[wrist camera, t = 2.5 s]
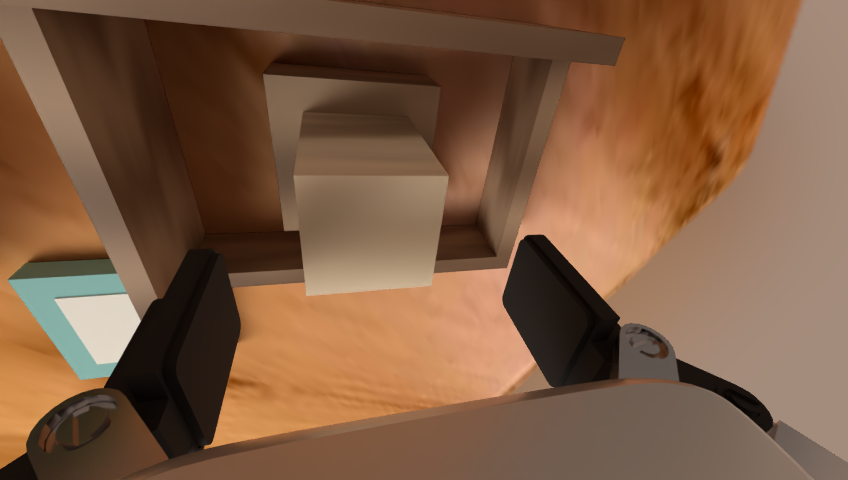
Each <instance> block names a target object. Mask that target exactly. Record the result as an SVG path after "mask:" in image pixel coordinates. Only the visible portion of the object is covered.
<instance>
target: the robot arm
mask: <svg viewBox="0 0 848 480" xmlns="http://www.w3.org/2000/svg"><path fill="white" fill-rule="evenodd" d="M502 300H503V305H504V307H505V309H506V311H507V312H508V314H509V316H510V318H511V319H512V321H513V323H514V325H515V326H516V328H517V330H518V331H519V333H520V335H521V337H522V338H523V340H524V342H525V344H526V345H527V347H528V349H529V350H530V352H531V354H532V356H533V357H534V359H535V361H536V363H537V364H538V366H539V368H540V369H541V371H542V373H543V374H544V376H545V378H546V380H547V381H548V383H549V385H551V386H552V387H555V388H549V389H543V390H537V391H531V392H524V393H518V394H512V395H506V396H500V397H493V398H487V399H481V400H475V401H469V402H463V403H457V404H451V405H445V406H439V407H433V408H427V409H422V410H416V411H410V412H404V413H398V414H392V415H386V416H380V417H374V418H369V419H363V420H357V421H351V422H345V423H340V424H334V425H328V426H322V427H317V428H311V429H305V430H299V431H294V432H289V433H283V434H278V435H273V436H267V437H262V438H257V439H251V440H246V441H241V442H236V443H230V444H226V445H222V446H217V447H213V448H209V449H204V446H205V445H210V444H211V443H212V441H213V438H214V435H215V431H216V427H217V423H218V419H219V414H220V410H221V406H222V402H223V398H224V394H225V390H226V386H227V382H228V378H229V374H230V370H231V366H232V362H233V358H234V354H235V350H236V346H237V342H238V338H239V334H240V328H241V323H240V317H239V313H238V310H237V306H236V302H235V298H234V294H233V290H232V287H231V283H230V279H229V275H228V271H227V267H226V264H225V260H224V256H223V254H222V253H216V251H215V250H214V249H213V248H207V249H190V250H188V252H187V253H186V255H185V257H184V259H183V261H182V263H181V265H180V267H179V269H178V270H177V272H176V274H175V276H174V278H173V280H172V282H171V284H170V286H169V287H168V289H167V291H166V293H165V295H164V297H163V298H161V299H156V300H154V301H153V302H152V303H151V304H150V306H149V307H148V309H147V311H146V313H145V315H144V316H143V318H142V320H141V322H140V324H139V325H138V327H137V329H136V331H135V332H134V334H133V336H132V338H131V340H130V341H129V343H128V345H127V347H126V349H125V350H124V352H123V354H122V356H121V358H120V359H119V361H118V363H117V365H116V366H115V368H114V370H113V372H112V374H111V375H110V377H109V379H108V381H107V383H106V384H105V386H104V388H99V389H93V390H89V391H86V392H82V393H80V394H78V395H75V396H73V397H71V398H69V399H67V400H65V401H64V402H62V403H60V404H59V405H57V406H56V407H54V408H53V409H52V410H50V411H49V412H48V413H47V414H46V415H45V416H44V417H43V418H41V419H40V420H39V422H38V423H37V424H36V426H35V427H34V428H33V430H32V431H31V433H30V435H29V438H28V440H27V443H26V447H27V453H25V454H23V455H22V456H20V457H19V458H17V459H16V460H14V461H13V462H11V463H9V464H8V465H6V466H5V467H3V468H2V469H0V480H848V463H847V462H846V461H844V460H843V459H841V458H839V457H838V456H836V455H835V454H833V453H832V452H830V451H828V450H827V449H825V448H823V447H822V446H820V445H819V444H817V443H816V442H814V441H812V440H811V439H809V438H808V437H806V436H804V435H803V434H801V433H800V432H798V431H796V430H795V429H793V428H791V427H790V426H788V425H787V424H785V423H783V422H782V421H780V420H779V421H778V422H777V423H774V422H773V419H772V417H771V415H770V413H769V411H768V410H767V409H766V407H765V406H764V405H763V404H762V403H761V402H760V401H759V400H758V399H757V398H756V397H755V396H754V395H752V394H751V393H750V392H748V391H746V390H744V389H743V388H741V387H739V386H737V385H735V384H733V383H731V382H728V381H726V380H724V379H722V378H719V377H717V376H715V375H713V374H710V373H708V372H706V371H704V370H701V369H699V368H697V367H694V366H692V365H690V364H688V363H685V362H683V361H681V360H679V359H676V356H675V352H674V349H673V347H672V345H671V344H670V343H669V341H668V340H666V338H665V337H663V336H662V335H661V334H660V333H658V332H657V331H655V330H653V329H651V328H649V327H647V326H644V325H640V324H633V323H630V324H625V325H624V326H623V327H620V326H619V324H618V323H617V322H618V321H619V319H620V317H619V316H618V315H617V314H616V313H615V312H614V311H613V310H612V308H611V307H610V306H609V305H608V304H607V303H606V302H605V301H604V300H603V299H602V298H601V296H600V295H599V294H598V293H597V292H596V291H595V290H594V289H593V288H592V287H591V286H590V284H589V283H588V282H587V281H586V280H585V279H584V278H583V277H582V276H581V275H580V274H579V272H578V271H577V270H576V269H575V268H574V267H573V266H572V265H571V264H570V263H569V262H568V260H567V259H566V258H565V257H564V256H563V255H562V254H561V253H560V252H559V251H558V250H557V248H556V247H555V246H554V245H553V244H552V243H551V242H550V241H549V240H548V239H547V238H546V236H544V235H527V236H525V237H524V239H523V240H521V241H520V243H519V246H518V249H517V252H516V255H515V258H514V262H513V265H512V268H511V271H510V274H509V277H508V281H507V284H506V287H505V290H504V293H503V297H502ZM203 449H204V450H203Z"/></svg>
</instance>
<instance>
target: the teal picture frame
mask: <svg viewBox="0 0 848 480" xmlns="http://www.w3.org/2000/svg"><path fill="white" fill-rule="evenodd" d="M8 282H9V283H10V284H11V286H12V287H13V288H14V290H15V291H16V292H17V294H18V295H19V297H20V298H21V299H22V301H23V302H24V303H25V305H26V306H27V307H28V309H29V310H30V312H31V313H32V314H33V316H34V317H35V318H36V320H37V321H38V322H39V324H40V325H41V327H42V328H43V329H44V331H45V332H46V333H47V335H48V336H49V337H50V339H51V340H52V342H53V343H54V344H55V346H56V347H57V348H58V350H59V351H60V352H61V354H62V355H63V357H64V358H65V359H66V361H67V362H68V363H69V365H70V366H71V367H72V369H73V370H74V372H75V373H76V374H77V376H78V377H79V378H80V380H84V379H92V378H100V377H109V376H110V375H111V374H112V372H113V370H114V368H115V366H116V365H117V363H118V361H119V359H120V358H121V356H122V354H123V352H124V350H125V349H126V347H127V345H128V343H129V341H130V340H131V338H132V336H133V334H134V332H135V331H136V329H137V327H138V325H139V324H140V322H141V320H140V318H139V316H138V314H137V312H136V310H135V308H134V306H133V304H132V302H131V300H130V298H129V296H128V294H127V292H126V290H125V288H124V286H123V284H122V282H121V280H120V278H119V276H118V274H117V272H116V270H115V268H114V266H113V264H112V262H111V260H110V259H95V260H74V261H54V262H33V263H25V264H24V265H23V266H22V267H21V268H20V269H19V270H18V271H17V272H15V273H14V274H13V275H12V276H11V277H10V278H9V279H8Z"/></svg>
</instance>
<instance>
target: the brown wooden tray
mask: <svg viewBox="0 0 848 480" xmlns="http://www.w3.org/2000/svg"><path fill="white" fill-rule="evenodd" d="M144 19H149V20H159V21H169V22H179V23H189V24H200V25H210V26H220V27H230V28H240V29H250V30H260V31H270V32H280V33H290V34H300V35H310V36H320V37H330V38H340V39H350V40H360V41H370V42H380V43H390V44H400V45H410V46H420V47H430V48H440V49H450V50H460V51H470V52H480V53H490V54H500V55H510V56H514V57H513V61H512V66H511V70H510V74H509V79H508V83H507V88H506V92H505V97H504V101H503V105H502V110H501V114H500V119H499V123H498V128H497V132H496V136H495V141H494V145H493V150H492V154H491V159H490V163H489V167H488V172H487V176H486V181H485V185H484V190H483V194H482V198H481V203H480V207H479V212H478V216H477V221H476V225H456V226H441V229H440V236H439V242H438V248H437V254H436V260H435V267H434V273H442V272H456V271H470V270H484V269H498V268H507V266H508V263H509V259H510V256H511V253H512V250H513V246H514V243H515V240H516V237H517V234H518V230H519V227H520V224H521V221H522V217H523V214H524V211H525V208H526V205H527V201H528V198H529V195H530V192H531V188H532V185H533V182H534V179H535V176H536V172H537V169H538V166H539V163H540V159H541V156H542V153H543V150H544V146H545V143H546V140H547V137H548V134H549V130H550V127H551V124H552V121H553V117H554V114H555V111H556V108H557V105H558V101H559V98H560V95H561V92H562V88H563V85H564V82H565V79H566V76H567V72H568V69H569V66H570V63H571V62H580V63H590V64H600V65H610V66H615V64H616V62H617V59H618V56H619V54H620V51H621V48H622V46H623V43H624V40H625V38H623V37H617V36H610V35H604V34H598V33H591V32H585V31H579V30H572V29H566V28H560V27H553V26H547V25H540V24H533V23H526V22H518V21H510V20H502V19H494V18H486V17H479V16H471V15H463V14H455V13H447V12H440V11H432V10H424V9H416V8H408V7H401V6H393V5H385V4H377V3H369V2H361V1H354V0H0V37H1V39H2V41H3V43H4V45H5V48H6V50H7V52H8V54H9V56H10V58H11V60H12V62H13V64H14V66H15V68H16V70H17V72H18V74H19V76H20V78H21V80H22V82H23V84H24V86H25V88H26V90H27V92H28V94H29V96H30V98H31V100H32V102H33V104H34V106H35V108H36V110H37V112H38V114H39V116H40V118H41V120H42V122H43V124H44V126H45V128H46V130H47V132H48V134H49V136H50V138H51V140H52V142H53V144H54V146H55V148H56V151H57V153H58V155H59V157H60V159H61V161H62V163H63V165H64V167H65V169H66V171H67V173H68V175H69V177H70V179H71V181H72V183H73V185H74V187H75V189H76V191H77V193H78V195H79V197H80V199H81V201H82V203H83V205H84V207H85V209H86V211H87V213H88V215H89V217H90V219H91V221H92V223H93V225H94V227H95V229H96V231H97V233H98V235H99V237H100V239H101V241H102V243H103V245H104V247H105V249H106V252H107V254H108V256H109V258H110V260H111V262H112V264H113V266H114V268H115V270H116V272H117V274H118V276H119V278H120V280H121V282H122V284H123V286H124V288H125V290H126V292H127V294H128V296H129V298H130V300H131V302H132V304H133V306H134V308H135V310H136V312H137V314H138V316H139V318H140V320H142V318H143V316H144V315H145V313H146V311H147V309H148V307H149V306H150V304H151V303H152V302H153V301H154V300H156V299H161V298H163V297H164V295H165V293H166V291H167V289H168V287H169V286H170V284H171V282H172V280H173V278H174V276H175V274H176V272H177V270H178V269H179V267H180V265H181V263H182V261H183V259H184V257H185V255H186V253H187V252H188V250H190V249H207V248H213V249H214V250H215V251H216V253H222V254H223V256H224V260H225V264H226V267H227V271H228V275H229V279H230V283H231V287H245V286H259V285H273V284H288V283H302V282H305V278H304V269H303V259H302V250H301V241H300V231H293V230H299V222H298V213H297V203H296V194H295V185H294V169H295V162H296V155H297V148H298V141H299V135H300V128H301V121H302V114H303V112H313V113H335V114H356V115H378V116H399V117H409V119H410V120H411V121H412V123H413V124H414V126H415V127H416V129H417V130H418V132H419V133H420V135H421V136H422V137H423V139H424V140H425V142H426V143H427V145H428V146H429V148H430V149H431V150H432V152H433V146H434V138H435V131H436V123H437V115H438V107H439V99H440V91H441V86H439V85H438V84H437V83H436V82H434V81H433V80H432V79H431V78H429V77H428V76H427V75H420V74H407V73H394V72H382V71H369V70H356V69H344V68H331V67H318V66H306V65H293V64H280V63H270V65H269V66H268V68H267V69H266V71H265V72H264V73H263V79H264V86H265V93H266V101H267V108H268V115H269V123H270V130H271V137H272V145H273V152H274V159H275V167H276V174H277V181H278V188H279V196H280V203H281V210H282V218H283V225H284V231H289V232H261V233H233V234H205V230H204V227H203V223H202V220H201V216H200V213H199V209H198V206H197V202H196V199H195V195H194V192H193V188H192V185H191V181H190V178H189V175H188V171H187V168H186V164H185V161H184V157H183V154H182V150H181V147H180V143H179V140H178V136H177V133H176V129H175V126H174V122H173V119H172V116H171V112H170V109H169V105H168V102H167V98H166V95H165V91H164V88H163V84H162V81H161V77H160V74H159V70H158V67H157V63H156V60H155V57H154V53H153V50H152V46H151V43H150V39H149V36H148V32H147V29H146V25H145V22H144Z"/></svg>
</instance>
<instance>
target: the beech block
mask: <svg viewBox="0 0 848 480" xmlns="http://www.w3.org/2000/svg"><path fill="white" fill-rule="evenodd" d="M448 180H449V175H448V174H447V172H446V171H445V169H444V168H443V166H442V165H441V163H440V162H439V161H438V159H437V158H436V156H435V155H434V153H433V152H432V150H431V149H430V148H429V146H428V145H427V143H426V142H425V140H424V139H423V137H422V136H421V135H420V133H419V132H418V130H417V129H416V127H415V126H414V124H413V123H412V121H411V120H410V119H409V117H399V116H378V115H356V114H335V113H313V112H303V114H302V121H301V128H300V135H299V141H298V148H297V155H296V162H295V169H294V185H295V194H296V203H297V213H298V222H299V231H300V241H301V250H302V259H303V269H304V278H305V287H306V296H312V295H325V294H337V293H349V292H362V291H374V290H386V289H399V288H411V287H424V286H431V285H432V279H433V273H434V267H435V260H436V254H437V248H438V242H439V236H440V229H441V223H442V217H443V211H444V204H445V198H446V192H447V186H448Z"/></svg>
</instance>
